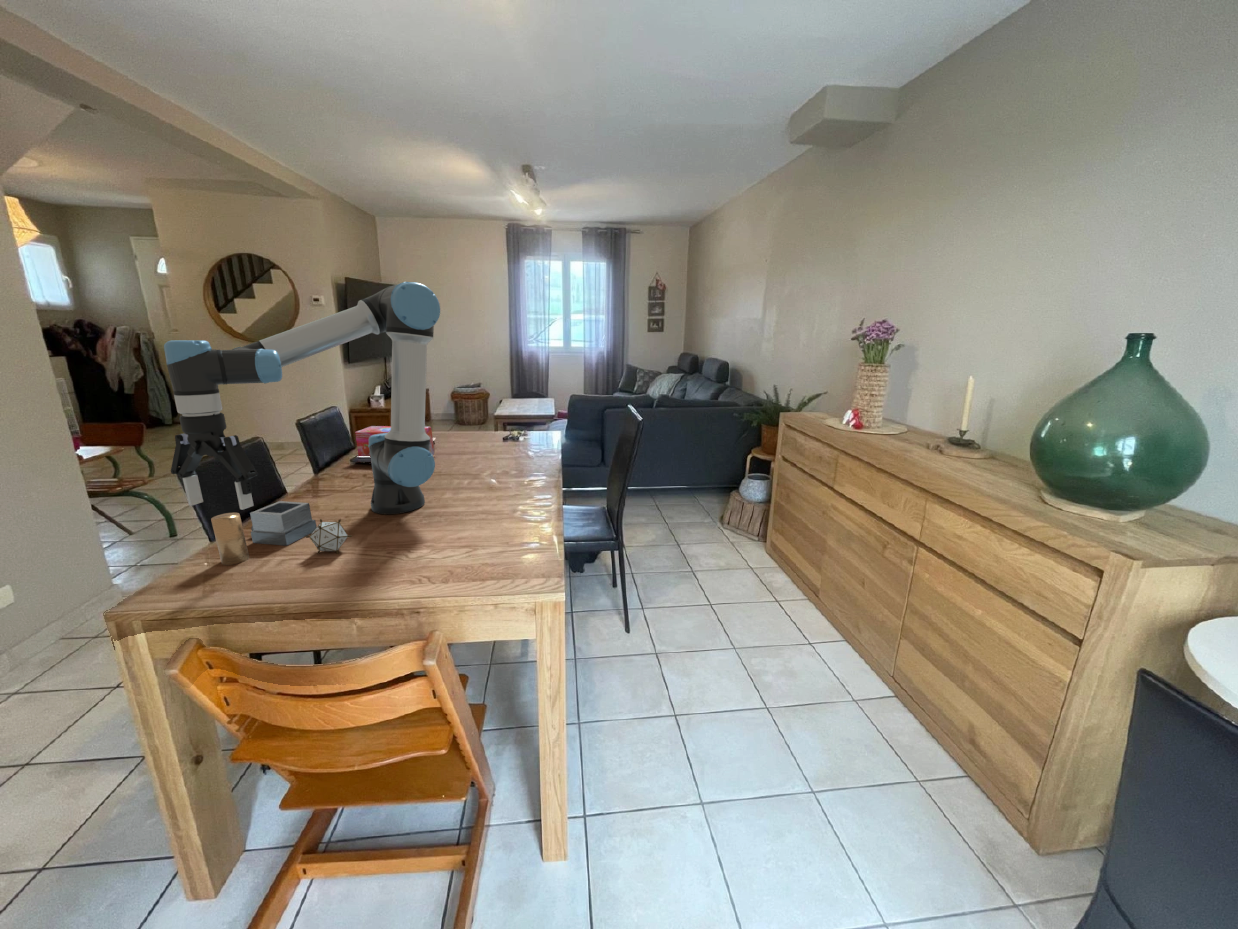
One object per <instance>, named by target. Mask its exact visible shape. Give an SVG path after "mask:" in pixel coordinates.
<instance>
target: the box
mask: <svg viewBox="0 0 1238 929" xmlns="http://www.w3.org/2000/svg"><path fill="white" fill-rule="evenodd" d="M390 430H391V425H389V426H388V425H385V426H384V425H377V426H376V425H371V426H368V427H365V428H363V429H360V430H357V431H355V432H354V433H355V442H356V448H357V454H358V457H359V456H370V450H369V447H368V445H369V437H370V436H372V435H376V434H382V433H388V432H389V431H390ZM425 433H426V434H427V435H428V436H429V437H430V453H431V454H432V455H434V454H435V448H434V447H435V445H434V438H433V431H432V426H425Z"/></svg>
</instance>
